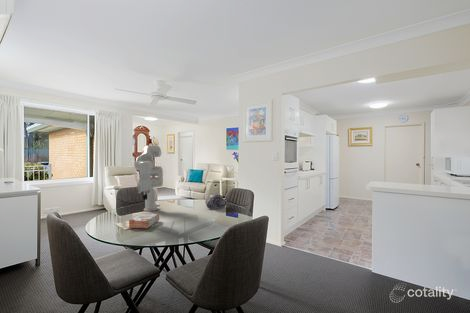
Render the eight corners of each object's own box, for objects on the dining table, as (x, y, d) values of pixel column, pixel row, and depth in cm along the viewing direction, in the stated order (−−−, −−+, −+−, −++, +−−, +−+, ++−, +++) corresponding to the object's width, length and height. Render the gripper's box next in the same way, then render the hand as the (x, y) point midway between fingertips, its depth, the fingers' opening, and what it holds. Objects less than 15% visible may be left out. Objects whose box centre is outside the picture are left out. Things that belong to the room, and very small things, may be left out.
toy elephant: (223, 207, 244) (221, 192, 246) (230, 207, 228) (228, 192, 230) (205, 210, 235) (203, 195, 237) (210, 210, 220) (208, 194, 222)
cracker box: (159, 212, 190) (146, 220, 169) (159, 220, 190) (146, 228, 169) (143, 212, 191) (128, 220, 170) (143, 219, 191) (128, 228, 171)
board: (142, 218, 198) (142, 217, 198) (153, 223, 184) (153, 222, 184) (114, 224, 182) (114, 223, 182) (125, 230, 168) (125, 229, 168)
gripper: (151, 175, 197) (151, 197, 198) (133, 177, 186) (133, 200, 187) (155, 176, 192) (156, 198, 192) (137, 178, 181) (138, 201, 182)
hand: (145, 199), depth 190 cm, fingers closed
